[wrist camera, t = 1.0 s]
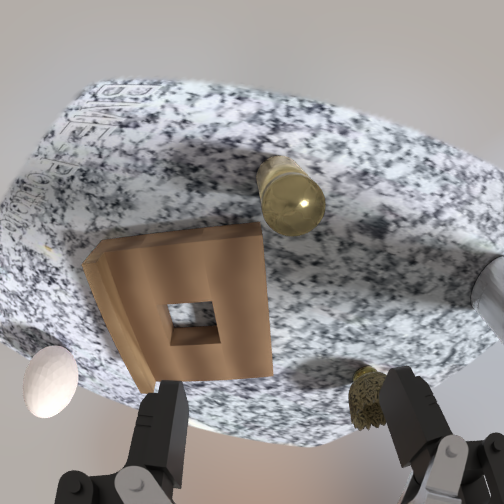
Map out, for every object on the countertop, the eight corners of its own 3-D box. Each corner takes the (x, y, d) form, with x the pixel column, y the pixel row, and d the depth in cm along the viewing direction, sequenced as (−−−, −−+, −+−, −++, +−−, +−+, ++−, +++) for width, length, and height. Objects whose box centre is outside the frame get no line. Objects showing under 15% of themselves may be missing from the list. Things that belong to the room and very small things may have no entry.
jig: (260, 221, 28) (264, 245, 24) (271, 357, 36) (274, 388, 32) (101, 240, 28) (81, 264, 24) (148, 364, 37) (140, 393, 32)
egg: (37, 328, 34) (1, 388, 23) (79, 336, 34) (46, 405, 24) (53, 363, 37) (25, 421, 27) (93, 372, 38) (69, 437, 27)
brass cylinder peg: (300, 153, 25) (324, 173, 18) (302, 197, 27) (325, 233, 20) (253, 156, 25) (259, 178, 18) (257, 201, 27) (264, 239, 20)
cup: (333, 367, 38) (347, 415, 31) (384, 347, 37) (405, 391, 30) (344, 394, 41) (357, 436, 34) (389, 375, 40) (406, 416, 33)
